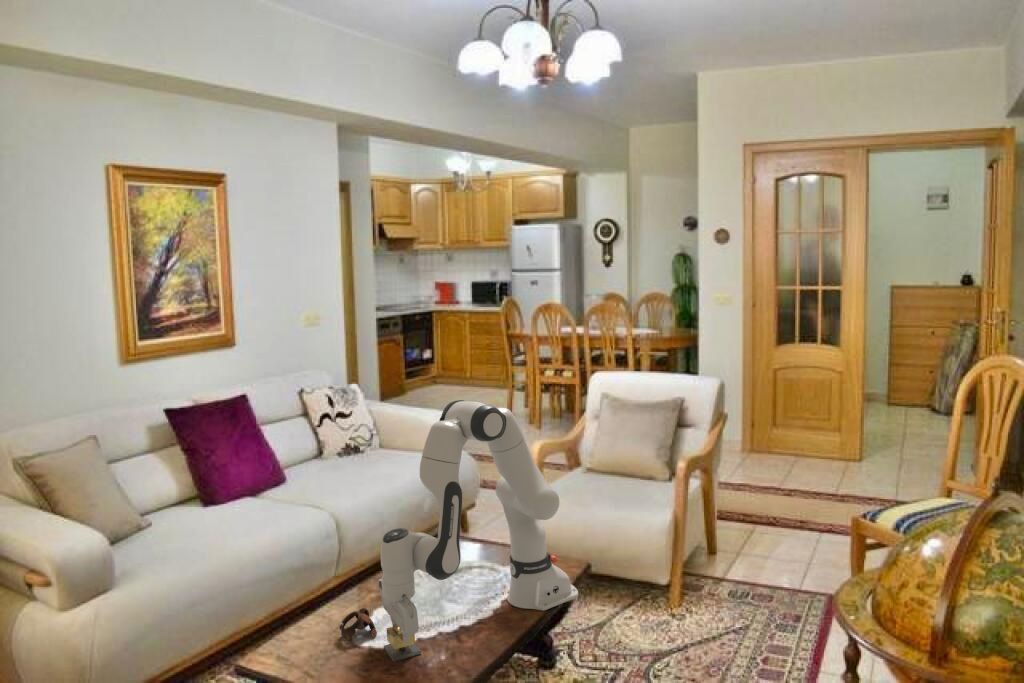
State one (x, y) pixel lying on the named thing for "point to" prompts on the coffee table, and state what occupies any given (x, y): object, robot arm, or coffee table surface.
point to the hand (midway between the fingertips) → (401, 636)
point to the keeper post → (402, 651)
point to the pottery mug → (357, 623)
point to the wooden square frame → (398, 638)
